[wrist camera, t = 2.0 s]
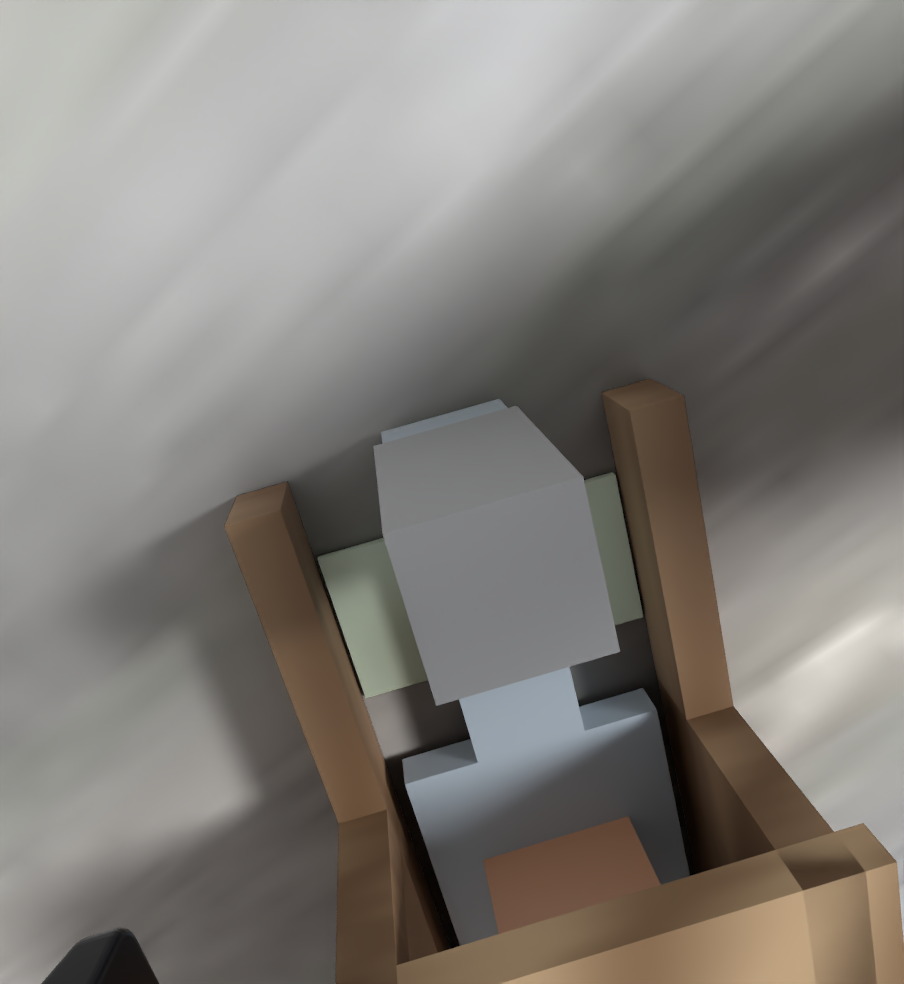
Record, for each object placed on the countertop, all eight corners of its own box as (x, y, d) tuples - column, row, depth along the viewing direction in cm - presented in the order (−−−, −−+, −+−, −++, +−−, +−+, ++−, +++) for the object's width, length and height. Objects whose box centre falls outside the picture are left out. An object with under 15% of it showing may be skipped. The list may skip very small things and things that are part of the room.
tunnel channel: (674, 371, 19) (863, 455, 12) (788, 1077, 27) (938, 1366, 20) (211, 502, 18) (128, 668, 11) (472, 1176, 27) (514, 1506, 20)
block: (628, 816, 21) (689, 945, 17) (653, 926, 22) (714, 1067, 19) (483, 859, 21) (512, 999, 17) (516, 967, 22) (551, 1119, 18)
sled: (579, 376, 18) (688, 446, 12) (698, 958, 24) (807, 1188, 18) (299, 455, 18) (274, 565, 12) (491, 1021, 24) (536, 1275, 18)
